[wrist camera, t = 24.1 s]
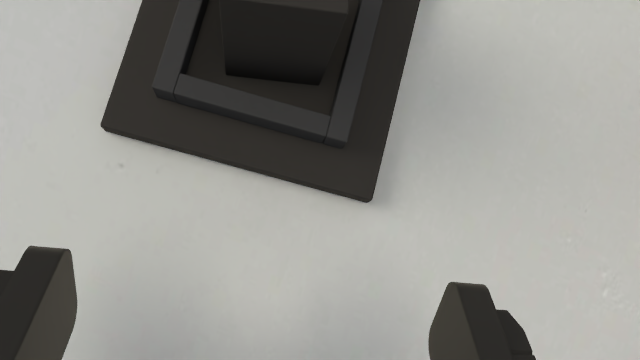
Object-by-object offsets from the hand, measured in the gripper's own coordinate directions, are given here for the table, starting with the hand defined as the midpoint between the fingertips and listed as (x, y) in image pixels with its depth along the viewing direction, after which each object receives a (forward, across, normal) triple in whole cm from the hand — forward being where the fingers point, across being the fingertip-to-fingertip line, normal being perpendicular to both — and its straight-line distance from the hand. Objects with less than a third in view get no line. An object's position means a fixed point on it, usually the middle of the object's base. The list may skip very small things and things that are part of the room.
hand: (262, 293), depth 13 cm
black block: (+18, 0, +2) cm, 18 cm away
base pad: (+19, 0, +2) cm, 19 cm away
